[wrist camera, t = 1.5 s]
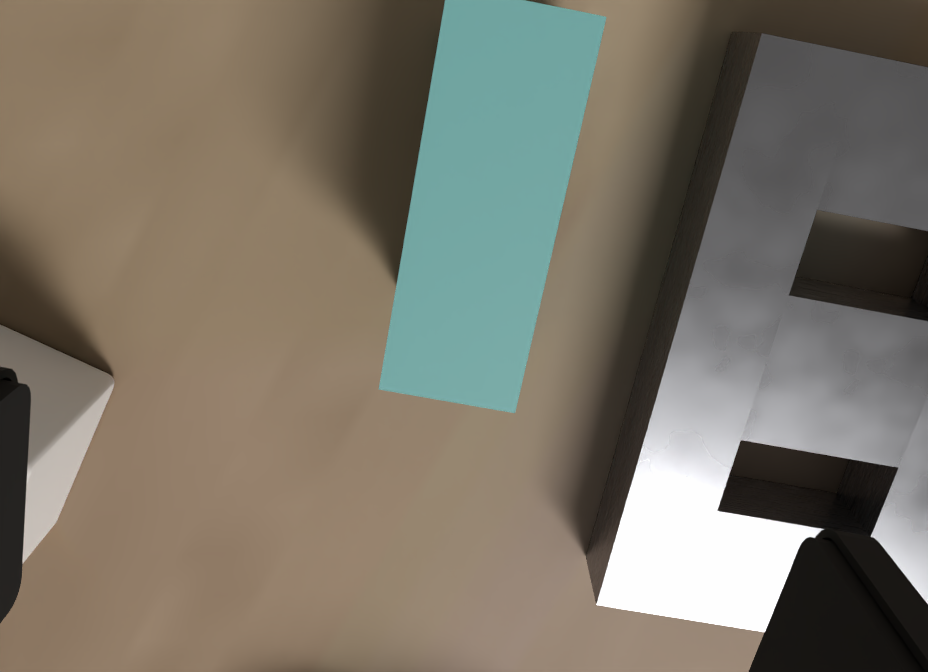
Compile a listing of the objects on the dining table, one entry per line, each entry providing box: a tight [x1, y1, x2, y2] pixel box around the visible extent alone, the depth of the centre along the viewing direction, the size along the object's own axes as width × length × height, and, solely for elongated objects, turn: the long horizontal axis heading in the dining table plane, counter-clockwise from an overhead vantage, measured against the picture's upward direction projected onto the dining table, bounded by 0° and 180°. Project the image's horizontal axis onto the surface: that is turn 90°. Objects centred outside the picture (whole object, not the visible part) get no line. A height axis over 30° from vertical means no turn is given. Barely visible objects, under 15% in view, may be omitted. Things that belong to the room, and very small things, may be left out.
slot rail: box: [586, 32, 928, 632], centre depth 30 cm, size 12×20×3 cm, turn 169°
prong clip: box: [379, 0, 606, 413], centre depth 27 cm, size 4×11×6 cm, turn 169°
